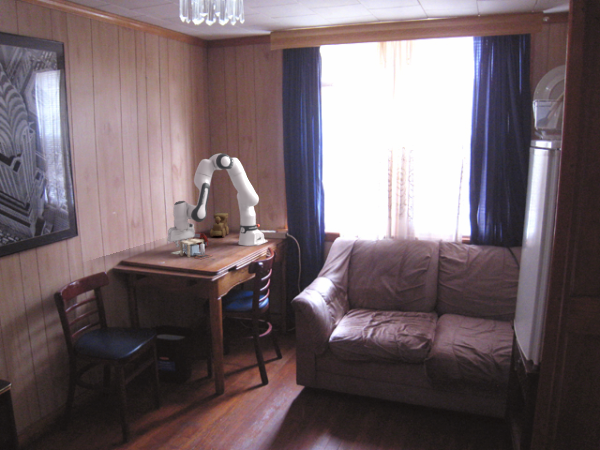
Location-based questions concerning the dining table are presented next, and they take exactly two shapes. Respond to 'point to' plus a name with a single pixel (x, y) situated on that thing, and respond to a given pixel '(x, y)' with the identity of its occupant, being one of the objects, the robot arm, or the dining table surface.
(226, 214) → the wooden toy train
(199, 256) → the pit
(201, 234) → the toy fire truck
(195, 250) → the sled
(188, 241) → the tunnel
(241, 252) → the dining table surface
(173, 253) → the pad
